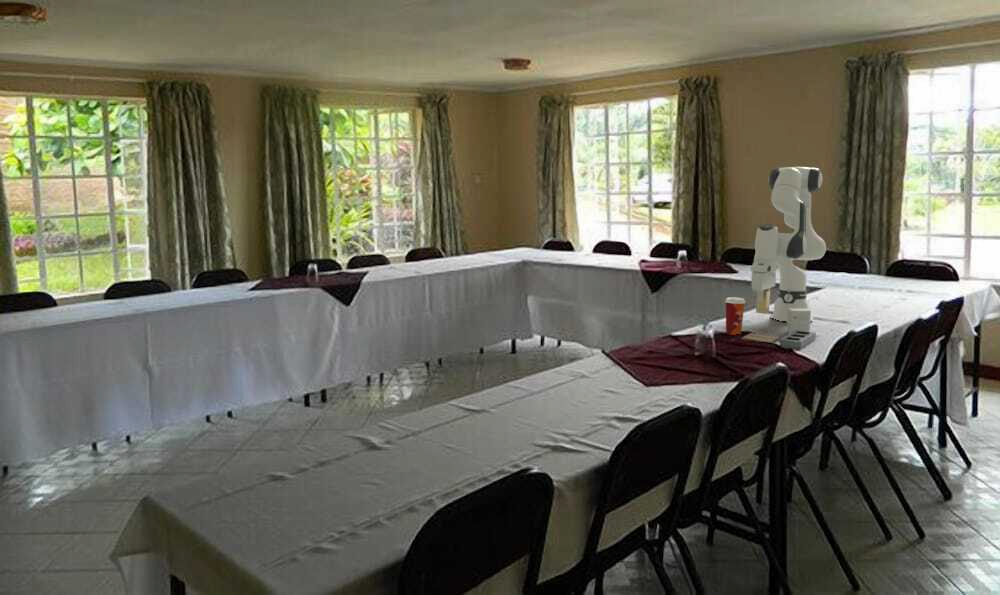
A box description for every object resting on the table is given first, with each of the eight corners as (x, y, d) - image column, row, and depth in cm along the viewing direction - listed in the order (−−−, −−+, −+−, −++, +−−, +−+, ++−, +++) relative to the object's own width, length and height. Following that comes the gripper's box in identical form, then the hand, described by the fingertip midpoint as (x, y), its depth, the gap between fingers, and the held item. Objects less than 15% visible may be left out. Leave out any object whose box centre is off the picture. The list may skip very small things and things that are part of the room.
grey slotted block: (795, 337, 320) (795, 330, 319) (815, 339, 315) (815, 332, 315) (779, 346, 302) (779, 339, 302) (800, 349, 298) (801, 342, 297)
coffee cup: (739, 336, 321) (741, 300, 319) (720, 334, 326) (722, 298, 324) (746, 333, 328) (748, 298, 325) (727, 330, 333) (729, 296, 330)
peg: (759, 311, 316) (760, 289, 315) (768, 312, 314) (770, 290, 312) (755, 312, 313) (757, 290, 311) (765, 313, 310) (767, 291, 309)
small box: (805, 332, 329) (807, 308, 328) (809, 335, 324) (811, 310, 322) (786, 332, 330) (787, 307, 328) (789, 335, 325) (791, 310, 323)
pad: (750, 335, 324) (751, 332, 323) (780, 338, 317) (780, 336, 316) (741, 340, 314) (741, 337, 314) (771, 344, 307) (771, 341, 307)
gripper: (765, 263, 321) (763, 296, 323) (749, 267, 304) (747, 302, 306) (780, 264, 317) (778, 297, 319) (765, 268, 300) (763, 303, 303)
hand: (763, 300), depth 312 cm, fingers closed on peg, 4 cm apart
